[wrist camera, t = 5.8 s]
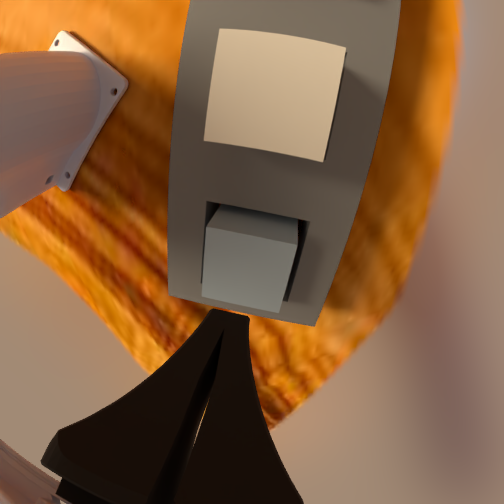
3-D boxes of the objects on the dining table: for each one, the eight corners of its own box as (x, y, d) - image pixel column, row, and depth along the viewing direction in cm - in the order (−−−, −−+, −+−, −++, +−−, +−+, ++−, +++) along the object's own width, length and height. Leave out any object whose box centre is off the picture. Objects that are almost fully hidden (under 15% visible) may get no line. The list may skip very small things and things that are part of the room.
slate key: (283, 265, 18) (278, 313, 14) (221, 252, 18) (201, 296, 15) (298, 207, 16) (297, 245, 12) (228, 193, 16) (206, 226, 12)
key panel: (313, 295, 19) (314, 326, 17) (184, 268, 20) (168, 295, 17) (389, -56, 7) (403, -76, 4) (232, -80, 7) (220, -104, 5)
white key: (315, 142, 13) (322, 162, 9) (231, 127, 13) (203, 140, 9) (330, 63, 11) (346, 47, 7) (243, 48, 11) (219, 28, 7)
